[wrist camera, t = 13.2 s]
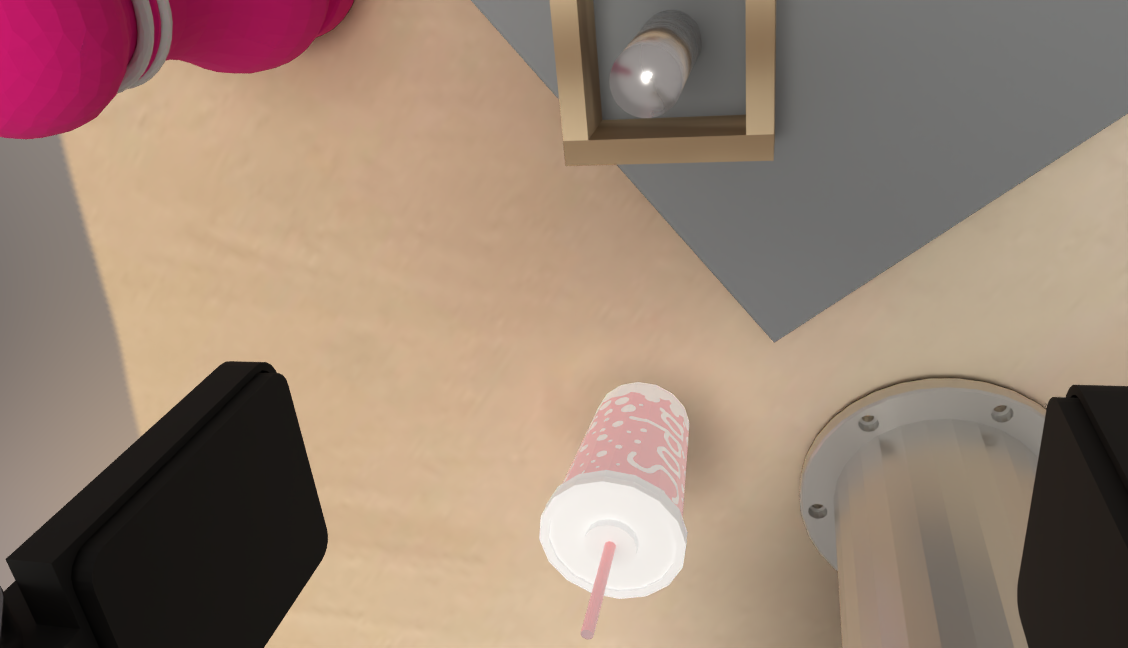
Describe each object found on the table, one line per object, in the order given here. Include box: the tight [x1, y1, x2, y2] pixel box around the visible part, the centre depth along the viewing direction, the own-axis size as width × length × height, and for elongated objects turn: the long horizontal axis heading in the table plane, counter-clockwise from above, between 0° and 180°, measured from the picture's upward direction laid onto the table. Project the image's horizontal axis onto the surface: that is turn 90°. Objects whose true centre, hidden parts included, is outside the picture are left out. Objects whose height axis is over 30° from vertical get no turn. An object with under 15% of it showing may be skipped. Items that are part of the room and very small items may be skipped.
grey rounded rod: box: [609, 10, 701, 118], centre depth 33 cm, size 2×2×7 cm
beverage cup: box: [539, 382, 689, 639], centre depth 39 cm, size 6×6×14 cm
